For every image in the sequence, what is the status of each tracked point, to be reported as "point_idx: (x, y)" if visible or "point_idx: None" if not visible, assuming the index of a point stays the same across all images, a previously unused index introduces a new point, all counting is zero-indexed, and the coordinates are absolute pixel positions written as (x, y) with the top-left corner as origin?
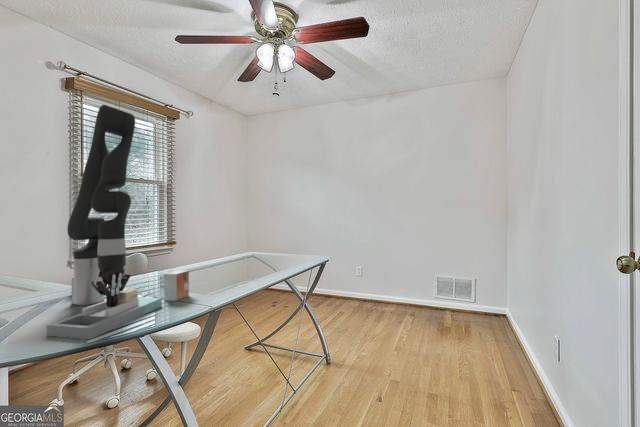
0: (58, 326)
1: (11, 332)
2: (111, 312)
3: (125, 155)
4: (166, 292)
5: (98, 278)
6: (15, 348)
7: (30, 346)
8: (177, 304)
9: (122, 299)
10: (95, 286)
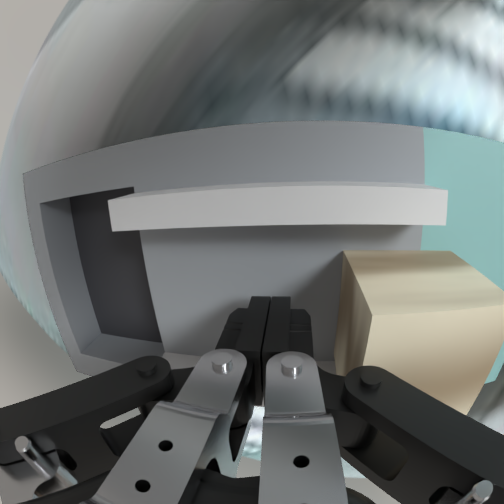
0: (32, 236)
1: (70, 10)
2: None
3: None
4: None
5: (6, 498)
6: (5, 187)
7: (16, 214)
8: (485, 389)
9: (343, 368)
10: (25, 423)
